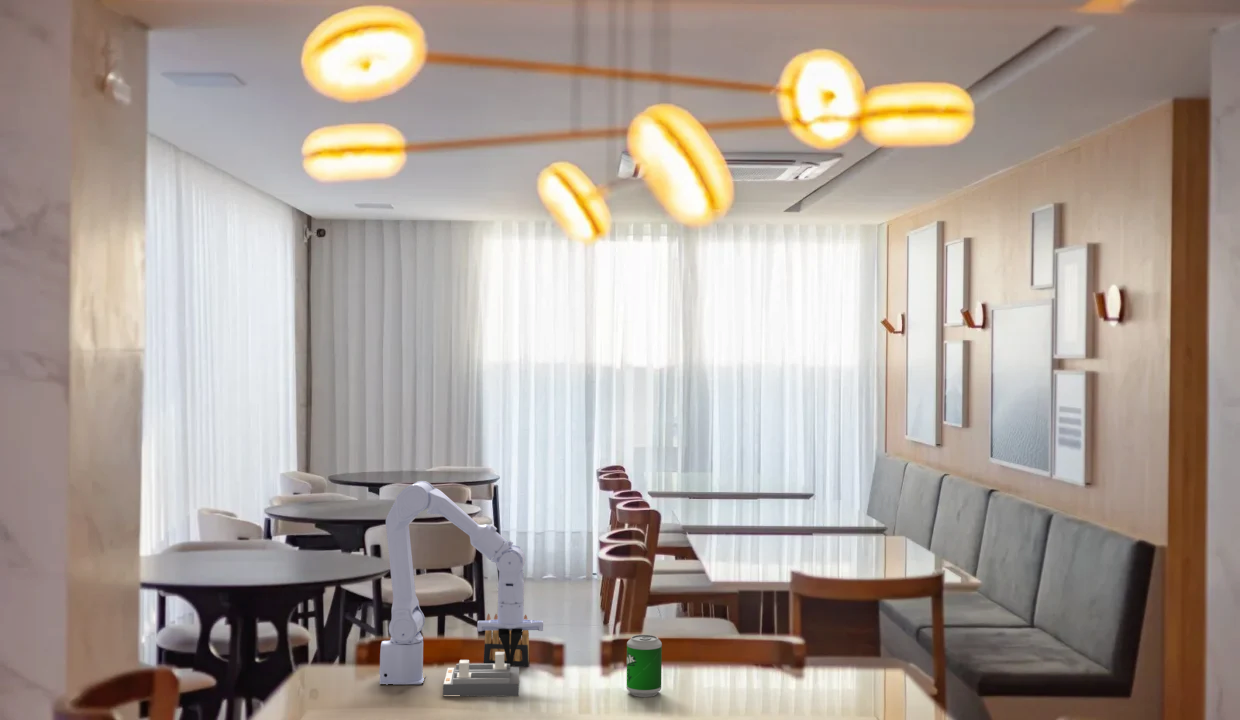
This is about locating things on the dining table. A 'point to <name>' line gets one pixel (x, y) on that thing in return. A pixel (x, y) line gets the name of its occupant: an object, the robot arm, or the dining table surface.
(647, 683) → the soda can
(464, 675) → the tab near
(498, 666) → the tab far
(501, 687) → the switch bank
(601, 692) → the dining table surface
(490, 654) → the ammunition clip
